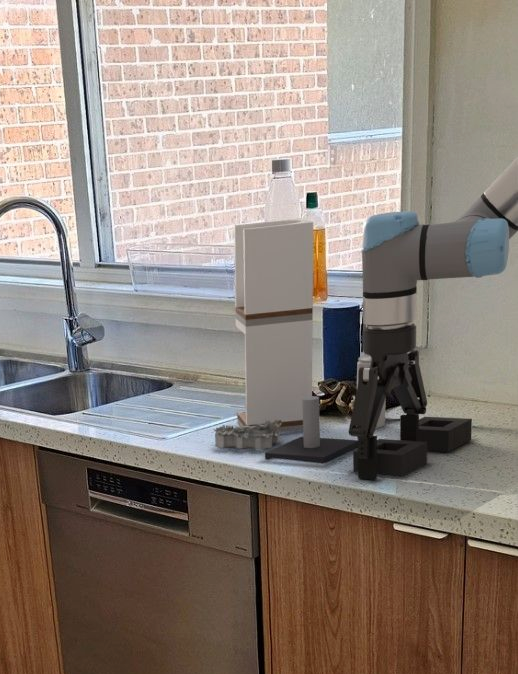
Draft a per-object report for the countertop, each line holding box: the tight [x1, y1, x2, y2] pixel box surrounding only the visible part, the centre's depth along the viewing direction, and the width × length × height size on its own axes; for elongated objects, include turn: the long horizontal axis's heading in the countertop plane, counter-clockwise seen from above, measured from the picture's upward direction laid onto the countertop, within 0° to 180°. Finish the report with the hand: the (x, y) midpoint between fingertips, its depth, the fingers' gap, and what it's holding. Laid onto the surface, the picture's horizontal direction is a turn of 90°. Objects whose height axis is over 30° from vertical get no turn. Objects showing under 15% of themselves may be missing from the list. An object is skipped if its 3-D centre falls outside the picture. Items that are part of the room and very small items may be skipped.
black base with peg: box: [264, 395, 358, 464], centre depth 199 cm, size 11×11×10 cm
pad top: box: [419, 416, 473, 453], centre depth 196 cm, size 8×8×4 cm
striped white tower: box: [233, 217, 314, 433], centre depth 215 cm, size 11×11×35 cm
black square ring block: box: [352, 438, 428, 478], centre depth 187 cm, size 8×8×4 cm
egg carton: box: [212, 420, 282, 450], centre depth 211 cm, size 11×8×4 cm
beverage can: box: [356, 355, 387, 430], centre depth 210 cm, size 5×5×12 cm
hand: (388, 467), depth 188 cm, fingers open, 12 cm apart
